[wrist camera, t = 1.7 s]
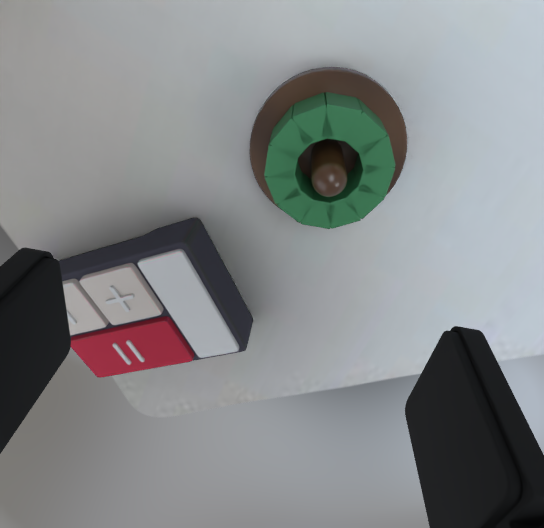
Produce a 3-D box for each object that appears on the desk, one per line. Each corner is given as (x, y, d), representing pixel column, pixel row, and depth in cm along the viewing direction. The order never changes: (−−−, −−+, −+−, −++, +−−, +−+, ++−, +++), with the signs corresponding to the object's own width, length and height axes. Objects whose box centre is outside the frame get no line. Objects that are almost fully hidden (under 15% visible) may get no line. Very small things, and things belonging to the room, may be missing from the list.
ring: (279, 83, 25) (276, 94, 22) (402, 105, 25) (412, 119, 22) (262, 196, 29) (257, 216, 26) (367, 214, 29) (372, 236, 26)
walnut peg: (262, 52, 25) (250, 70, 20) (427, 82, 25) (456, 108, 20) (243, 203, 30) (230, 247, 25) (378, 227, 30) (391, 274, 26)
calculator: (13, 293, 32) (181, 246, 27) (45, 261, 35) (199, 215, 31) (95, 384, 37) (246, 358, 33) (115, 349, 41) (255, 321, 36)
